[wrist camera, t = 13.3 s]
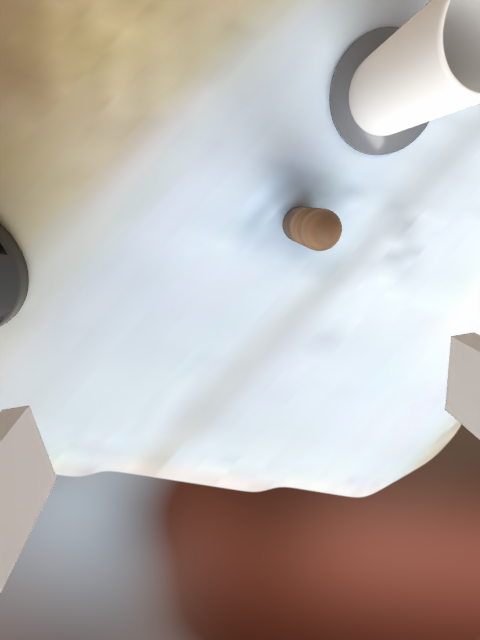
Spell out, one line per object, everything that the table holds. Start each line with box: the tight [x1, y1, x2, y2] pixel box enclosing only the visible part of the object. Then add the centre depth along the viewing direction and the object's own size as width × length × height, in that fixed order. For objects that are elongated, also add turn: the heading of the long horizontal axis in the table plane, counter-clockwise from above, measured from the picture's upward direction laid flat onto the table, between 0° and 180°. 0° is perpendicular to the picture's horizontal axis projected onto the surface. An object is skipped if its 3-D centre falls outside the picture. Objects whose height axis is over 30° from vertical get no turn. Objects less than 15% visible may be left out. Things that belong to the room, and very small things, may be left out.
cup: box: [349, 0, 480, 136], centre depth 31 cm, size 8×8×16 cm
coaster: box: [330, 27, 429, 155], centre depth 39 cm, size 12×12×1 cm
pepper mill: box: [283, 207, 342, 251], centre depth 38 cm, size 4×4×10 cm
